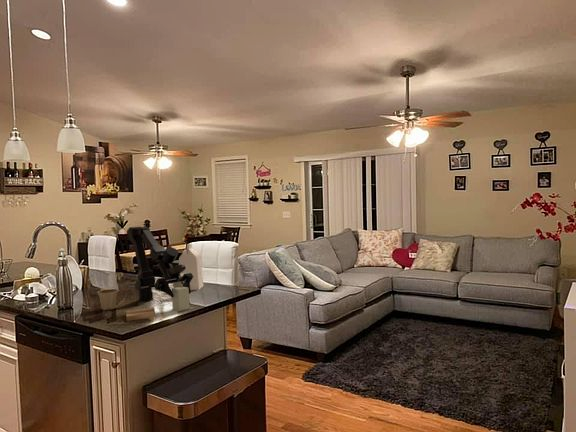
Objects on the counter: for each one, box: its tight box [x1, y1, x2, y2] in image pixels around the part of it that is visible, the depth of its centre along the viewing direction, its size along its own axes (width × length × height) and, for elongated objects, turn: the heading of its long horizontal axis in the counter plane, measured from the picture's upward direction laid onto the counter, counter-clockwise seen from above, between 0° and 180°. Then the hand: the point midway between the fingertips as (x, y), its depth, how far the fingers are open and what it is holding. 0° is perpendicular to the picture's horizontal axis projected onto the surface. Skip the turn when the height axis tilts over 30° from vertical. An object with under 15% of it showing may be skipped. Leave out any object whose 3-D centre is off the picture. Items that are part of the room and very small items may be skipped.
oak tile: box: [125, 306, 157, 322], centre depth 195 cm, size 12×12×2 cm
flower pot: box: [96, 288, 119, 311], centre depth 212 cm, size 9×9×9 cm
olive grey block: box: [172, 273, 192, 297], centre depth 235 cm, size 9×9×12 cm
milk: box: [178, 243, 204, 291], centre depth 256 cm, size 12×12×26 cm
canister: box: [171, 287, 190, 312], centre depth 204 cm, size 6×6×10 cm
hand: (181, 295), depth 203 cm, fingers open, 9 cm apart
